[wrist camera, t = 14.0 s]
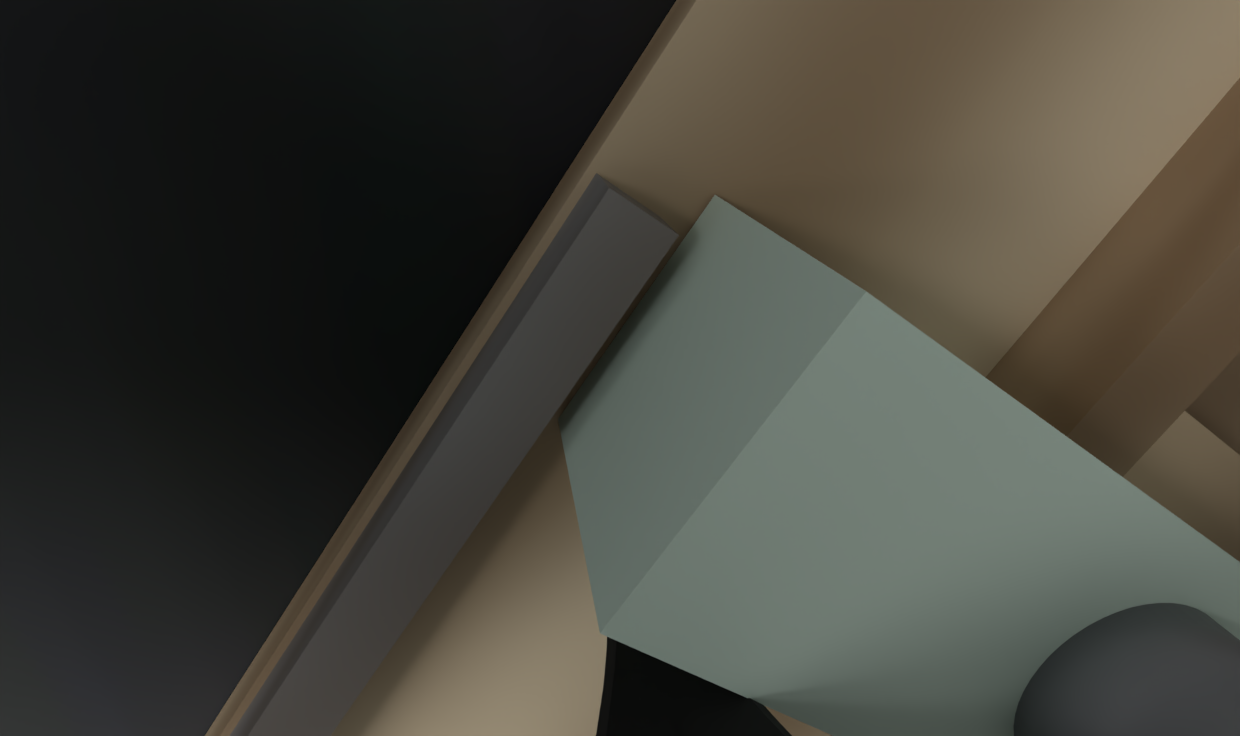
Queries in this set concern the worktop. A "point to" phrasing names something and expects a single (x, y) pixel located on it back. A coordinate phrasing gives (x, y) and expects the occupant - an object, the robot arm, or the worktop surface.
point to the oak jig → (840, 239)
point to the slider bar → (876, 521)
